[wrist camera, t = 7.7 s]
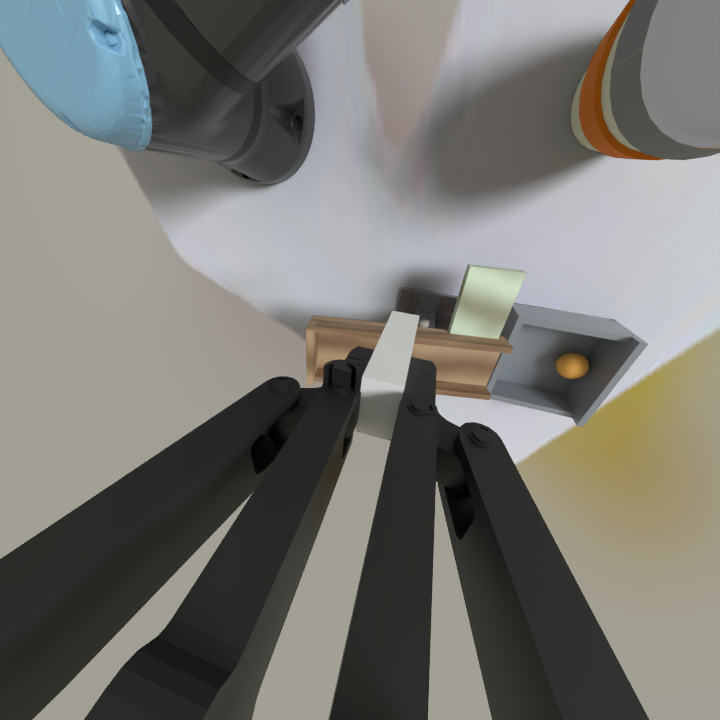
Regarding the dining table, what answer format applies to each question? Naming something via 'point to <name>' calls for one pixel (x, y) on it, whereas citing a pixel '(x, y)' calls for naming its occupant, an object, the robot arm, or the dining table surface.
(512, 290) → the chute
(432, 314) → the stand
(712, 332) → the dining table surface
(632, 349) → the grey tray
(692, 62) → the reusable coffee cup
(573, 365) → the ball
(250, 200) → the dining table surface
